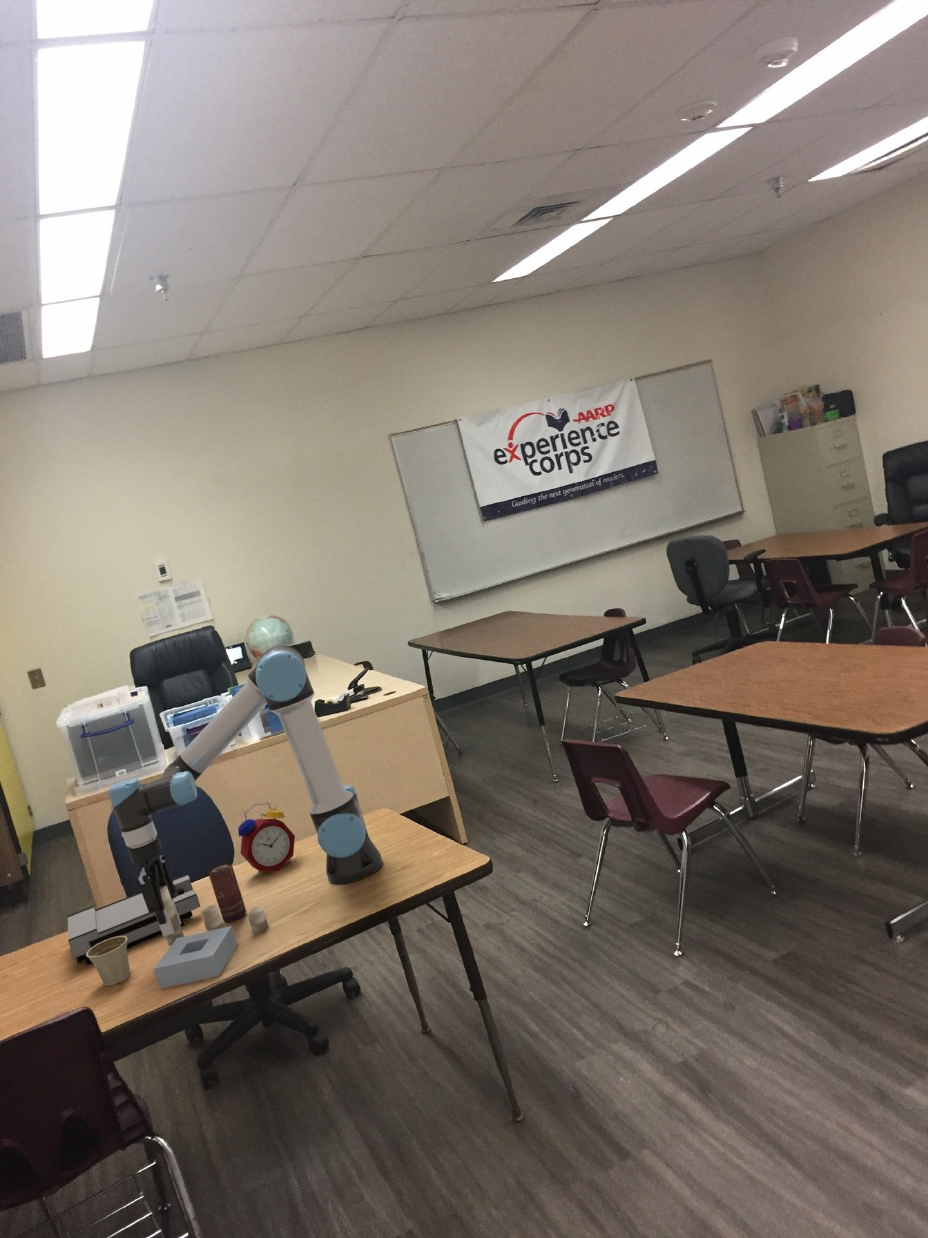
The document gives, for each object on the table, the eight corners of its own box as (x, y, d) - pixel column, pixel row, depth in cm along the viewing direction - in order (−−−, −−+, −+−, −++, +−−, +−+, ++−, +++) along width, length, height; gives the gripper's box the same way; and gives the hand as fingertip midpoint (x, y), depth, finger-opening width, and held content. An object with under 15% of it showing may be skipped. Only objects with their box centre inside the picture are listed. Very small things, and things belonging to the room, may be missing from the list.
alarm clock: (255, 881, 259) (234, 815, 257) (244, 875, 267) (225, 811, 264) (302, 859, 267) (283, 795, 264) (291, 854, 274) (272, 791, 272)
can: (241, 921, 234) (225, 870, 232) (219, 925, 235) (203, 874, 233) (251, 909, 239) (236, 860, 238) (229, 913, 241) (214, 864, 239)
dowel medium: (228, 933, 228) (219, 903, 227) (223, 941, 224) (214, 911, 223) (213, 937, 229) (204, 907, 228) (208, 944, 225) (198, 914, 224)
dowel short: (270, 924, 227) (265, 905, 227) (266, 931, 223) (260, 912, 223) (255, 927, 228) (249, 908, 227) (250, 935, 224) (244, 916, 223)
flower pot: (104, 975, 223) (93, 942, 222) (142, 964, 224) (131, 931, 222) (91, 995, 214) (80, 961, 213) (131, 983, 214) (120, 949, 213)
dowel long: (186, 935, 229) (169, 883, 227) (180, 943, 225) (163, 891, 223) (171, 939, 230) (154, 887, 228) (165, 947, 226) (147, 894, 224)
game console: (204, 919, 242) (195, 891, 241) (78, 971, 230) (68, 941, 229) (194, 896, 261) (186, 869, 260) (77, 943, 249) (67, 915, 248)
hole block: (237, 945, 220) (231, 925, 219) (219, 976, 206) (212, 955, 205) (182, 957, 221) (176, 938, 221) (160, 989, 207) (154, 968, 207)
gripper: (142, 832, 233) (171, 917, 236) (112, 860, 216) (144, 950, 219) (169, 825, 232) (198, 910, 235) (142, 852, 215) (173, 943, 218)
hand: (172, 929), depth 227 cm, fingers closed on dowel long, 4 cm apart
